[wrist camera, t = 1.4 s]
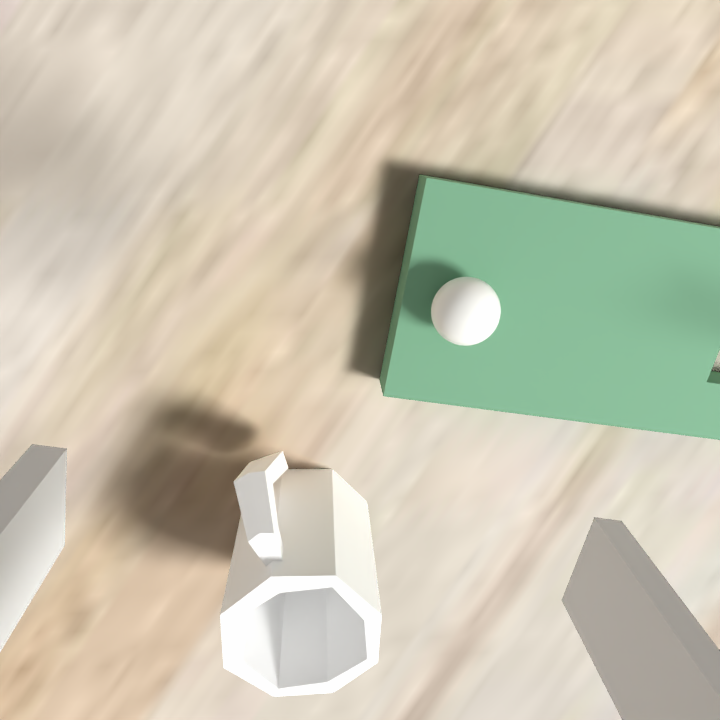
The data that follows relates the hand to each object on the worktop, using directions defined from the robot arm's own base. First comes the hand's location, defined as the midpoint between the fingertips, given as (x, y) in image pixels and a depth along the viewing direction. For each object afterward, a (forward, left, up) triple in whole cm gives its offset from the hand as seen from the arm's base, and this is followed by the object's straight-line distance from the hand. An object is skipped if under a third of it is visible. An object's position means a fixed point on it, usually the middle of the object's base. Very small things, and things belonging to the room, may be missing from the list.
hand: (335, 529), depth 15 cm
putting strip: (-2, +17, -21) cm, 27 cm away
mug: (+13, 0, -21) cm, 25 cm away
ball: (-2, +7, -17) cm, 18 cm away
